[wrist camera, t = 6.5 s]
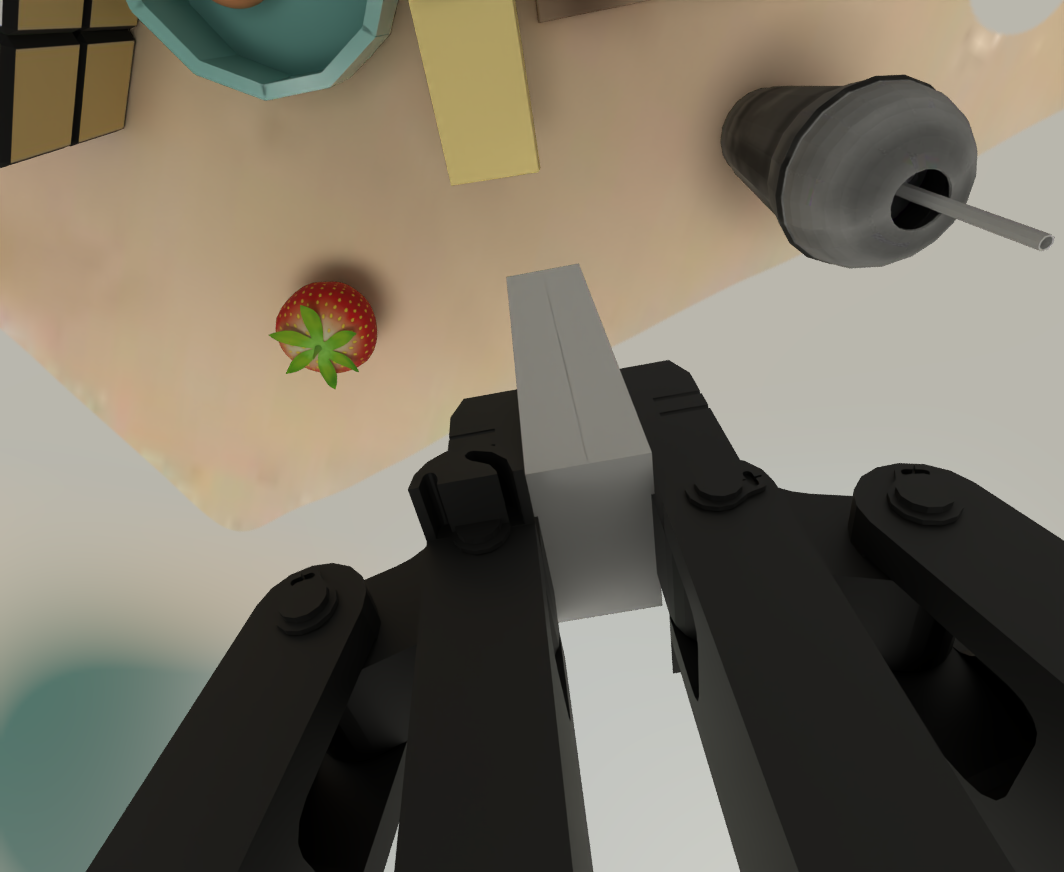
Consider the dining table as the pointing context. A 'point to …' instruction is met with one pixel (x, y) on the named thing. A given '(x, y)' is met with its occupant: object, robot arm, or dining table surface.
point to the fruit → (326, 329)
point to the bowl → (270, 40)
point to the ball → (238, 3)
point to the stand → (574, 7)
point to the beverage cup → (861, 168)
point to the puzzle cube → (62, 73)
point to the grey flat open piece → (477, 87)
